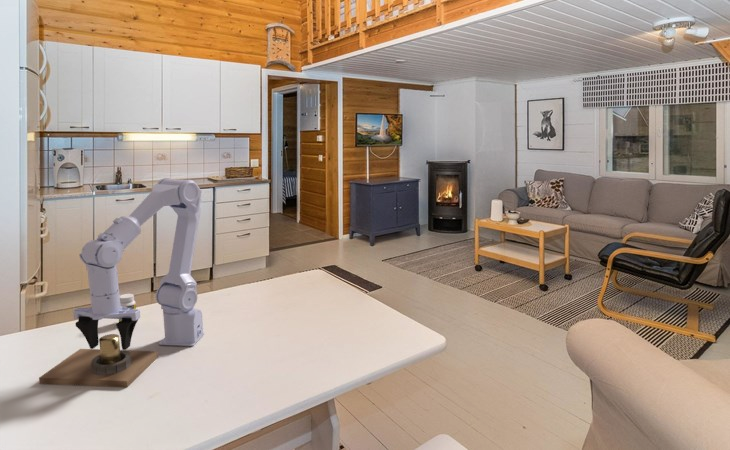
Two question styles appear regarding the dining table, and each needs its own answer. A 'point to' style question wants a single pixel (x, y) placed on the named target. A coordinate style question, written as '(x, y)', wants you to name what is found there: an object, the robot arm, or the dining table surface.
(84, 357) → the jig board
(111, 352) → the cylinder
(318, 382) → the dining table surface
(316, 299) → the dining table surface
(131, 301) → the supplement bottle
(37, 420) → the dining table surface
